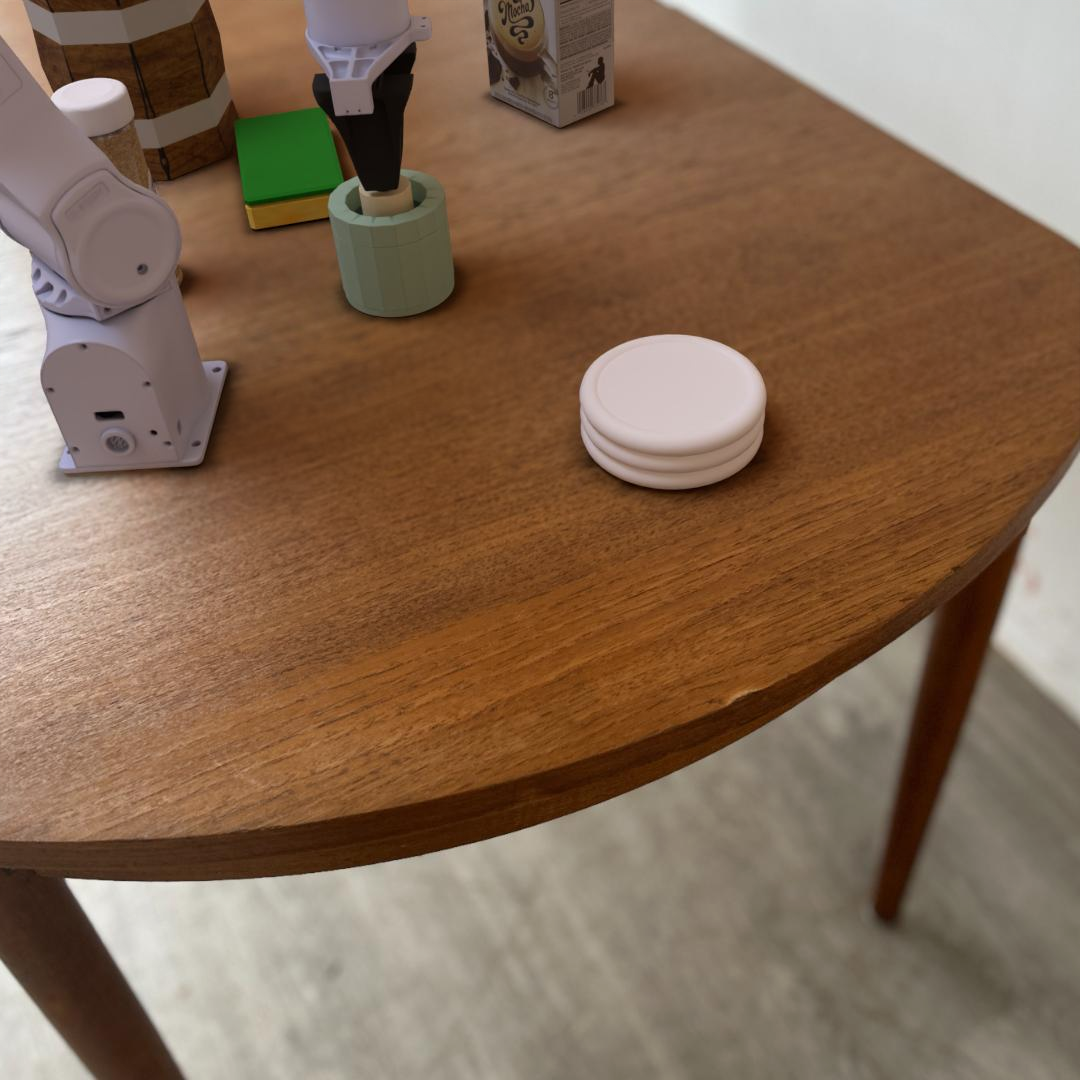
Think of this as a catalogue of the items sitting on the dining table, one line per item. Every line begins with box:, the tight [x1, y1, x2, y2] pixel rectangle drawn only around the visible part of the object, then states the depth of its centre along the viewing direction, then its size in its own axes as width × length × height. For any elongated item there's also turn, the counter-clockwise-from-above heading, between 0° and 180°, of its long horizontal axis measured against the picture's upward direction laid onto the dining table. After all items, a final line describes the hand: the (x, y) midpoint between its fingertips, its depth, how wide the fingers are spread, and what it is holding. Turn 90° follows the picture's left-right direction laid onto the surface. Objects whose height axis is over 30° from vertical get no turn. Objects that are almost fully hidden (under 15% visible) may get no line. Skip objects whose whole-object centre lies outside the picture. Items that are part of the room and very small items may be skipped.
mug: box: [22, 0, 241, 181], centre depth 93 cm, size 20×14×15 cm
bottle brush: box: [359, 75, 414, 217], centre depth 71 cm, size 3×3×11 cm
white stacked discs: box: [578, 333, 768, 490], centre depth 65 cm, size 10×10×4 cm
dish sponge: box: [234, 106, 345, 230], centre depth 89 cm, size 7×14×2 cm, turn 14°
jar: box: [328, 168, 456, 318], centre depth 76 cm, size 7×7×6 cm
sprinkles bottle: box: [49, 78, 184, 287], centre depth 75 cm, size 5×5×13 cm
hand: (382, 178), depth 73 cm, fingers closed on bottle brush, 2 cm apart
